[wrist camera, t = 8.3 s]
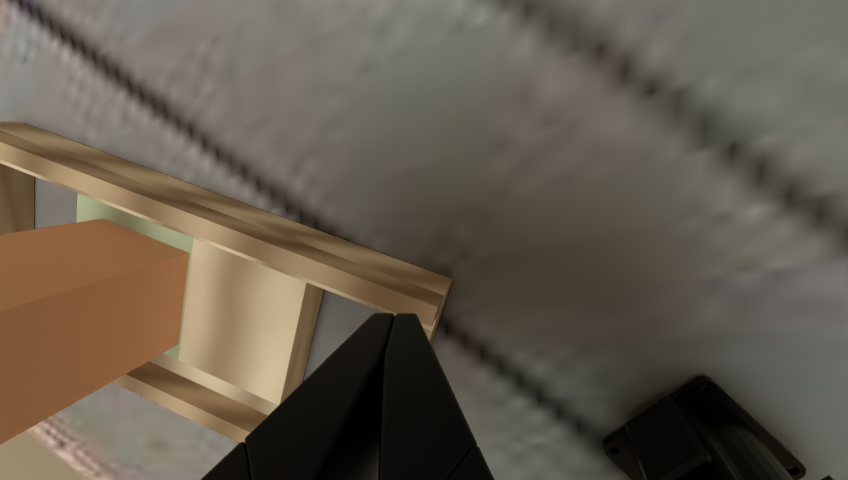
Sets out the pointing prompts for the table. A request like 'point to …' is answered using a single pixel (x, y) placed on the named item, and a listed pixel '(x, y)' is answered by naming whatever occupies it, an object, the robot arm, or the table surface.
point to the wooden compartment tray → (218, 277)
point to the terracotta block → (81, 313)
